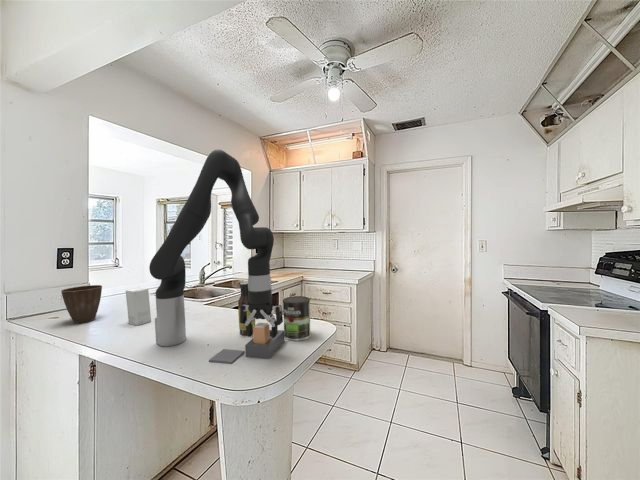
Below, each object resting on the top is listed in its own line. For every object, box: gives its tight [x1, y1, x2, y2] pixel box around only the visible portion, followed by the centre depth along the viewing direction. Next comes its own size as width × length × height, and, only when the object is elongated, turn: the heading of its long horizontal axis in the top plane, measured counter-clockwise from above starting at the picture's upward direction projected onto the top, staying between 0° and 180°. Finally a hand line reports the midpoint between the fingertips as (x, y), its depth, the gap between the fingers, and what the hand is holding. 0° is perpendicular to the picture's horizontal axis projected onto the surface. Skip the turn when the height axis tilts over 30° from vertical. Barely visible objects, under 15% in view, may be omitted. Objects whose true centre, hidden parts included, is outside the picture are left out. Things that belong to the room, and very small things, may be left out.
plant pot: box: [60, 284, 103, 324], centre depth 134 cm, size 15×15×16 cm
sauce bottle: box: [237, 282, 256, 336], centre depth 112 cm, size 6×6×20 cm
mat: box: [208, 348, 246, 365], centre depth 91 cm, size 8×8×1 cm
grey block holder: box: [244, 329, 286, 360], centre depth 96 cm, size 8×14×4 cm, turn 166°
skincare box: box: [125, 287, 152, 326], centre depth 129 cm, size 8×7×16 cm
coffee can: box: [282, 295, 312, 342], centre depth 107 cm, size 10×10×14 cm
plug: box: [252, 322, 271, 344], centre depth 93 cm, size 4×4×10 cm
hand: (262, 336), depth 93 cm, fingers open, 8 cm apart
